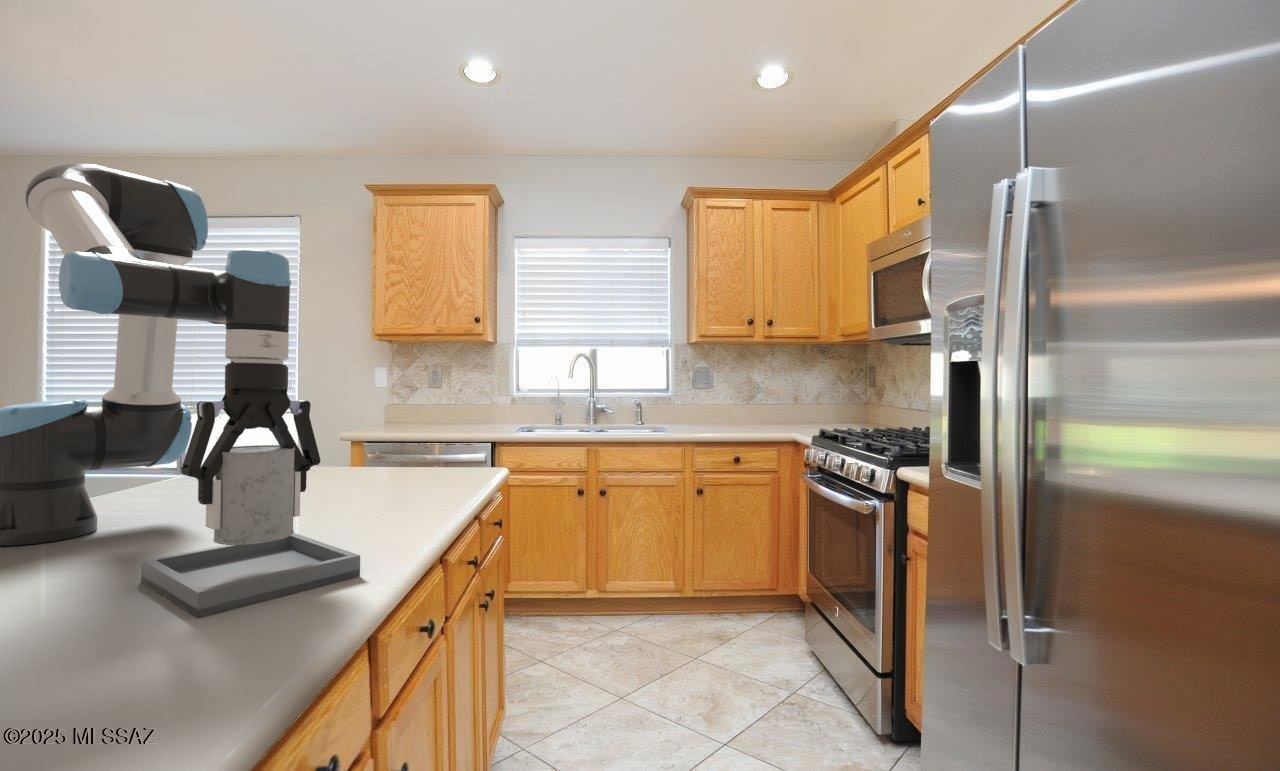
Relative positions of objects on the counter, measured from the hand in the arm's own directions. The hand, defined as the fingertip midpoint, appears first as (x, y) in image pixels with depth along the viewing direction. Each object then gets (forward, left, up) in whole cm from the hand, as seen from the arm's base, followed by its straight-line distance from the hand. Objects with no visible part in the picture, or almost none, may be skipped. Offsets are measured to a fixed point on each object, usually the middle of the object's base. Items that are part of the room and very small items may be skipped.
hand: (254, 521), depth 85 cm
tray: (0, 0, -8) cm, 8 cm away
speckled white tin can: (0, 0, -2) cm, 2 cm away
